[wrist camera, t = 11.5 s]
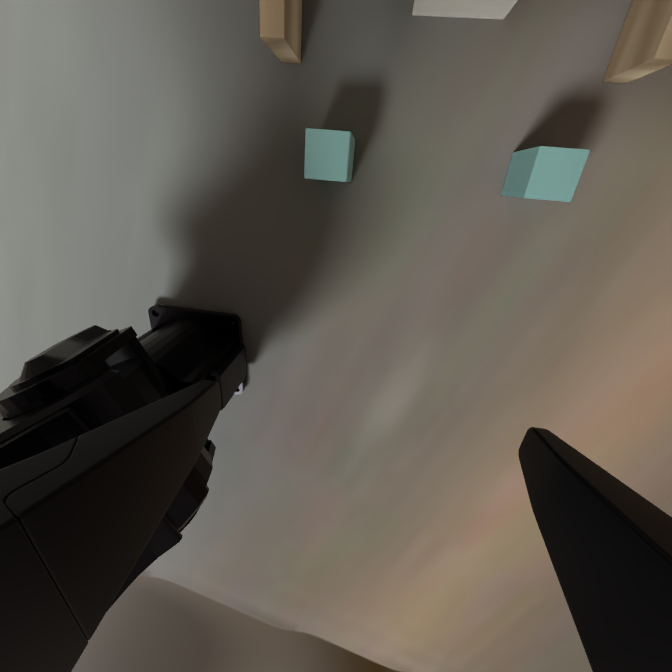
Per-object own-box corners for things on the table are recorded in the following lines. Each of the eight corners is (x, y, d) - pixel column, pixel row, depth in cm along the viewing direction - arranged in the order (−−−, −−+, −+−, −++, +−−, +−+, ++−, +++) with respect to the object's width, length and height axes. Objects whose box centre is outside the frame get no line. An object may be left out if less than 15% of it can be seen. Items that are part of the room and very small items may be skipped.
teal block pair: (315, 179, 18) (304, 178, 15) (317, 136, 17) (305, 128, 14) (540, 198, 17) (570, 202, 14) (554, 155, 16) (590, 149, 13)
